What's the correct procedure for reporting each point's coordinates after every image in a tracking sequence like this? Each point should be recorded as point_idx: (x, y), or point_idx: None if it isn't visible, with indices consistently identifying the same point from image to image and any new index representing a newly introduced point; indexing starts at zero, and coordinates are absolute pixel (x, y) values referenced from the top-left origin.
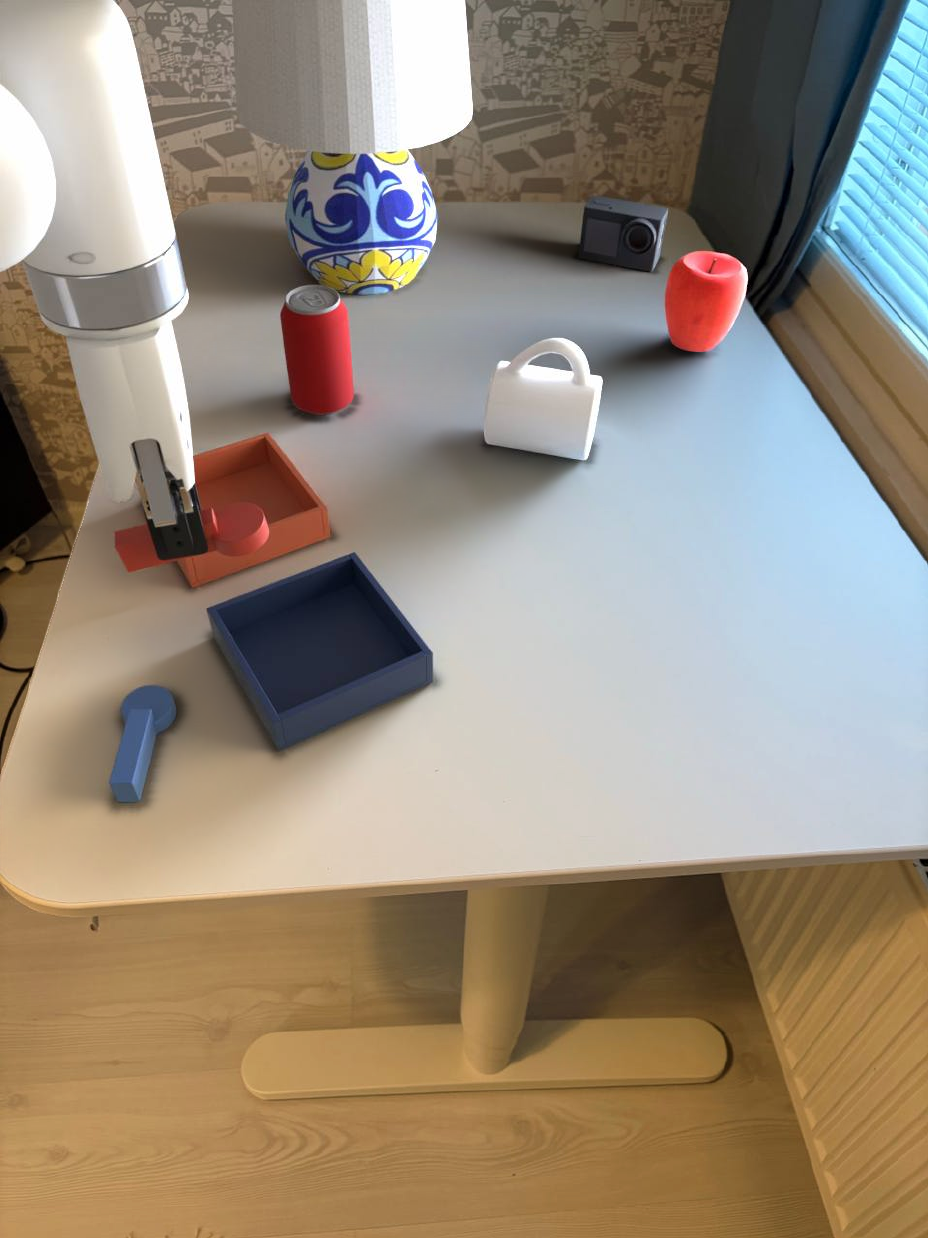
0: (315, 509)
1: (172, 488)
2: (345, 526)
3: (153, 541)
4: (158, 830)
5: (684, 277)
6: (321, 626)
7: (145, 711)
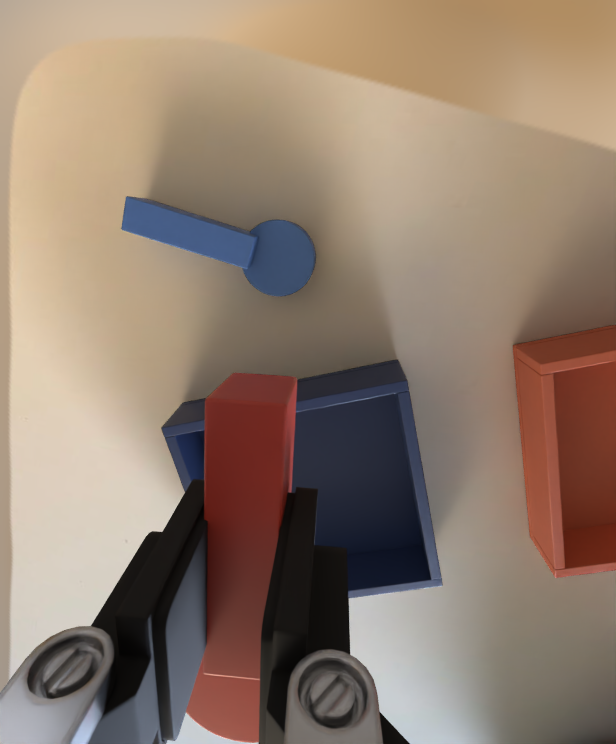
0: (560, 563)
1: (262, 708)
2: (542, 557)
3: (170, 520)
4: (97, 247)
5: None
6: (359, 492)
7: (245, 260)
